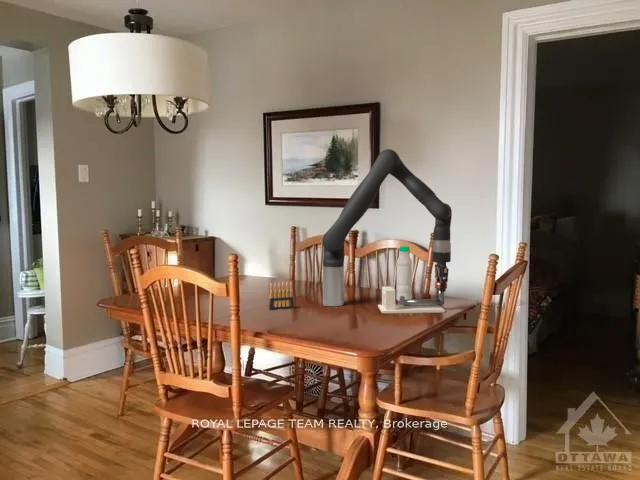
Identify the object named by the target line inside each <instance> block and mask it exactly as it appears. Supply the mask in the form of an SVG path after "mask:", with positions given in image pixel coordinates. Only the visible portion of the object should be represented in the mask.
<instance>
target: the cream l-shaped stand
mask: <svg viewBox="0 0 640 480" xmlns="http://www.w3.org/2000/svg"><path fill="white" fill-rule="evenodd" d="M377 307H378V309H379V311H380V312H381V313H382V314H420V313H421V314H428V313H429V314H430V313H432V314H433V313H446V310H445V309H444V308H443V307H442V306H403V305H400V303H399V304H398V303H397V304H396V289H394V287H393V286H381V304H377Z"/></svg>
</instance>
